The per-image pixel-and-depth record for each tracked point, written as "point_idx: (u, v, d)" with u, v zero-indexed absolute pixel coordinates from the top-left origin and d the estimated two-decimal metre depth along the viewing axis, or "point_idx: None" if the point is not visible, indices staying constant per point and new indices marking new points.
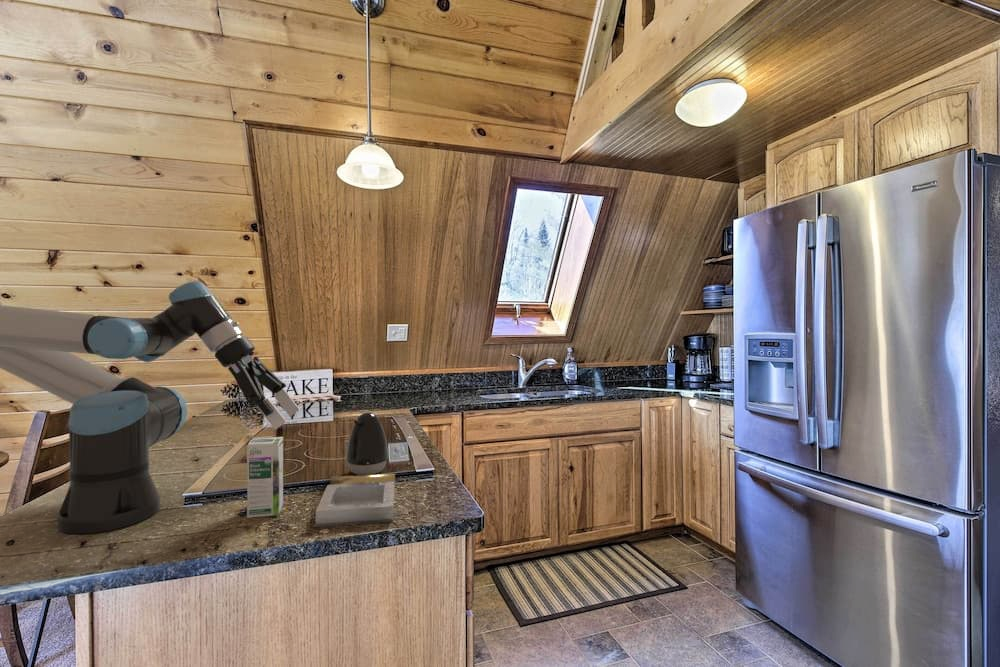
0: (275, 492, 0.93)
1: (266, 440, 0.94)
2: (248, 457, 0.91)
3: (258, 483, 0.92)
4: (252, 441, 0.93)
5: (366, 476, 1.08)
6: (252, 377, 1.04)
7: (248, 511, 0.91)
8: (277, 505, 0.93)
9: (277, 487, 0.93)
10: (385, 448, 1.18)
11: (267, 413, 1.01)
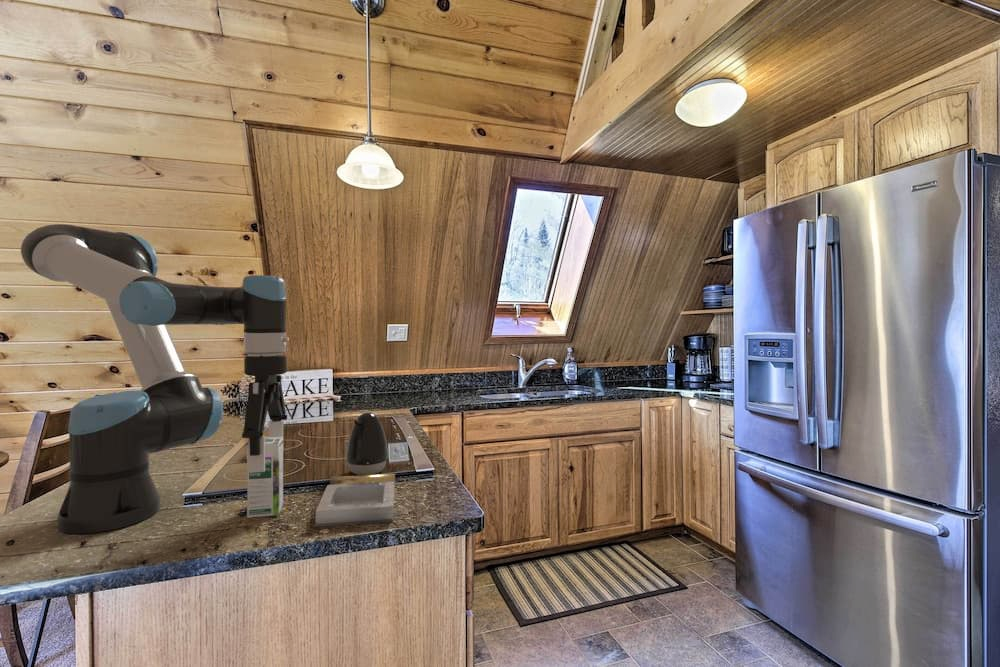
0: (275, 492, 0.93)
1: (266, 440, 0.94)
2: None
3: (258, 483, 0.92)
4: None
5: (366, 476, 1.08)
6: (264, 404, 0.90)
7: (248, 511, 0.91)
8: (277, 505, 0.93)
9: (277, 487, 0.93)
10: (385, 448, 1.18)
11: (253, 453, 0.86)
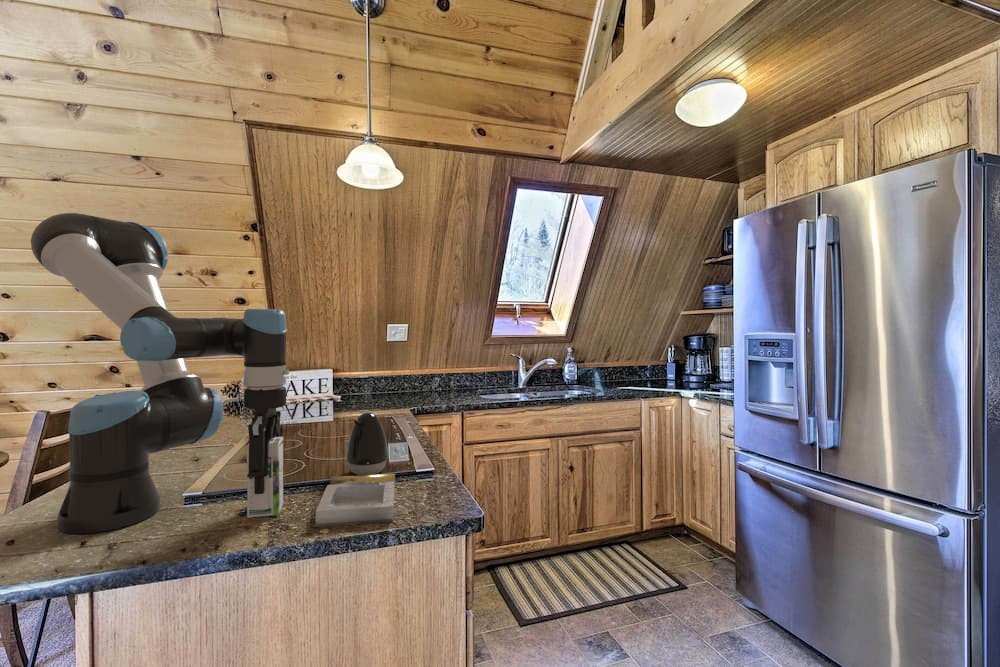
0: (275, 492, 0.93)
1: None
2: (248, 457, 0.91)
3: None
4: None
5: (366, 476, 1.08)
6: (265, 441, 0.91)
7: (248, 511, 0.91)
8: (277, 505, 0.93)
9: (277, 487, 0.93)
10: (385, 448, 1.18)
11: (257, 492, 0.90)
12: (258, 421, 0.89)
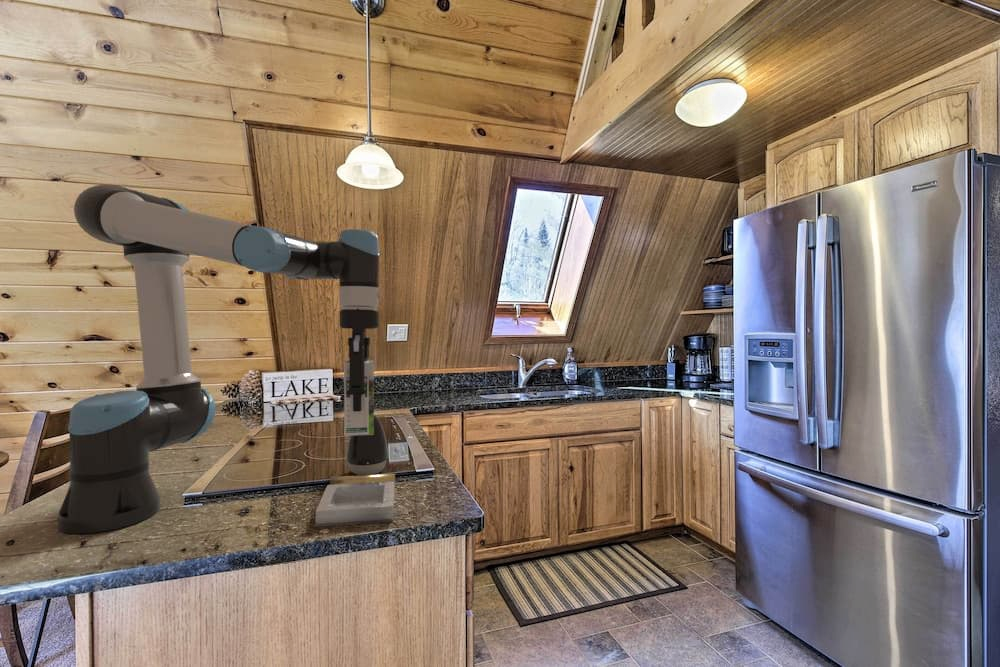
0: (370, 411, 0.94)
1: None
2: (345, 376, 0.92)
3: None
4: (347, 361, 0.94)
5: (366, 476, 1.08)
6: None
7: (345, 429, 0.93)
8: (372, 424, 0.94)
9: (372, 406, 0.94)
10: (385, 448, 1.18)
11: (356, 409, 0.91)
12: (357, 339, 0.91)
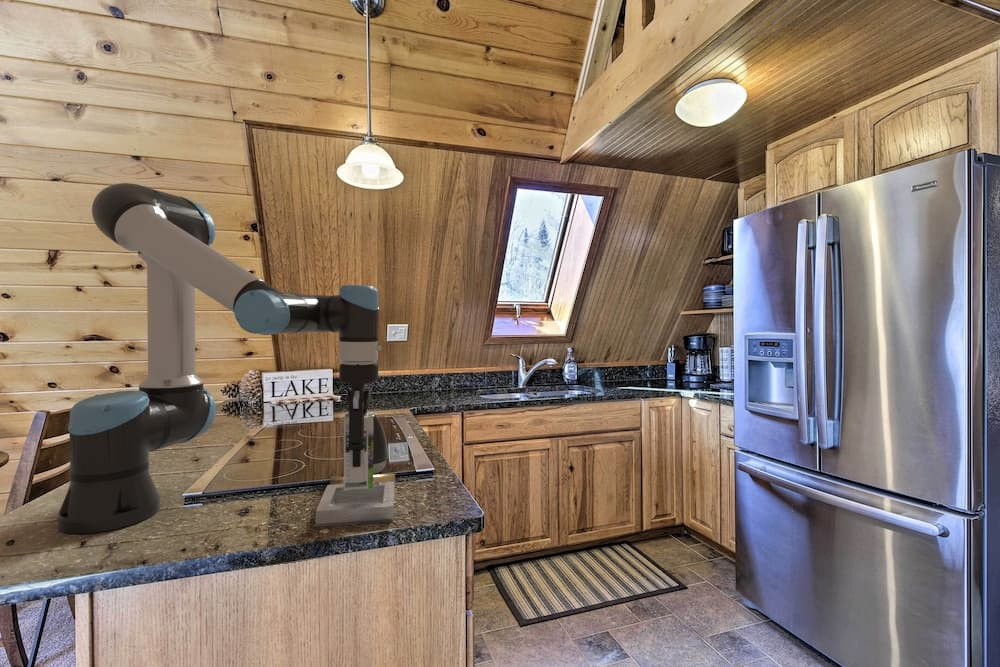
0: (369, 466, 0.94)
1: None
2: (345, 431, 0.93)
3: None
4: (347, 415, 0.94)
5: None
6: None
7: (344, 484, 0.93)
8: (372, 478, 0.94)
9: (372, 461, 0.94)
10: (385, 448, 1.18)
11: (355, 465, 0.91)
12: (356, 395, 0.91)
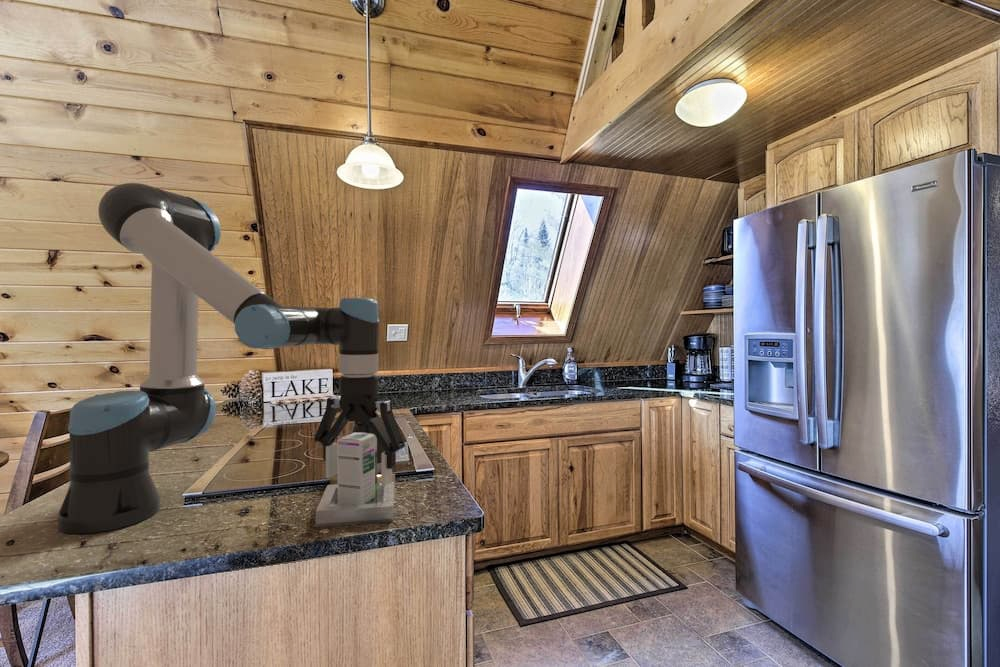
0: (375, 481, 0.98)
1: (361, 435, 0.96)
2: (362, 453, 0.93)
3: (367, 476, 0.95)
4: (355, 438, 0.94)
5: None
6: (379, 421, 0.95)
7: None
8: None
9: (376, 476, 0.98)
10: None
11: (393, 466, 0.93)
12: None
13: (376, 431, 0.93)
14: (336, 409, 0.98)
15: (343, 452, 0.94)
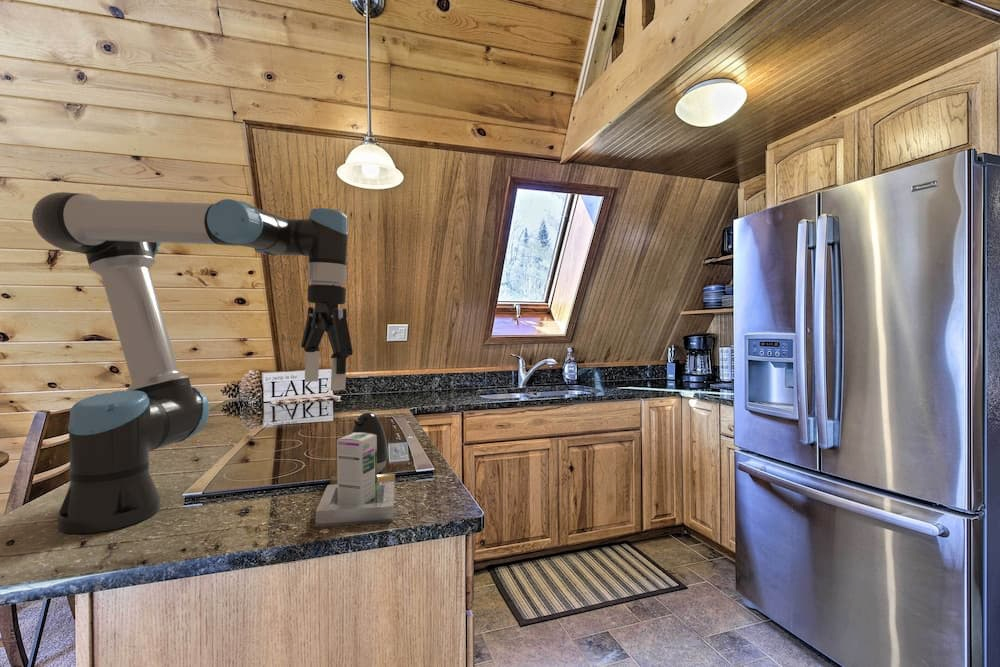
0: (375, 481, 0.98)
1: (361, 435, 0.96)
2: (362, 453, 0.93)
3: (367, 476, 0.95)
4: (355, 438, 0.94)
5: None
6: None
7: None
8: None
9: (376, 476, 0.98)
10: (385, 448, 1.18)
11: (341, 372, 0.94)
12: None
13: (330, 337, 0.96)
14: None
15: (343, 452, 0.94)
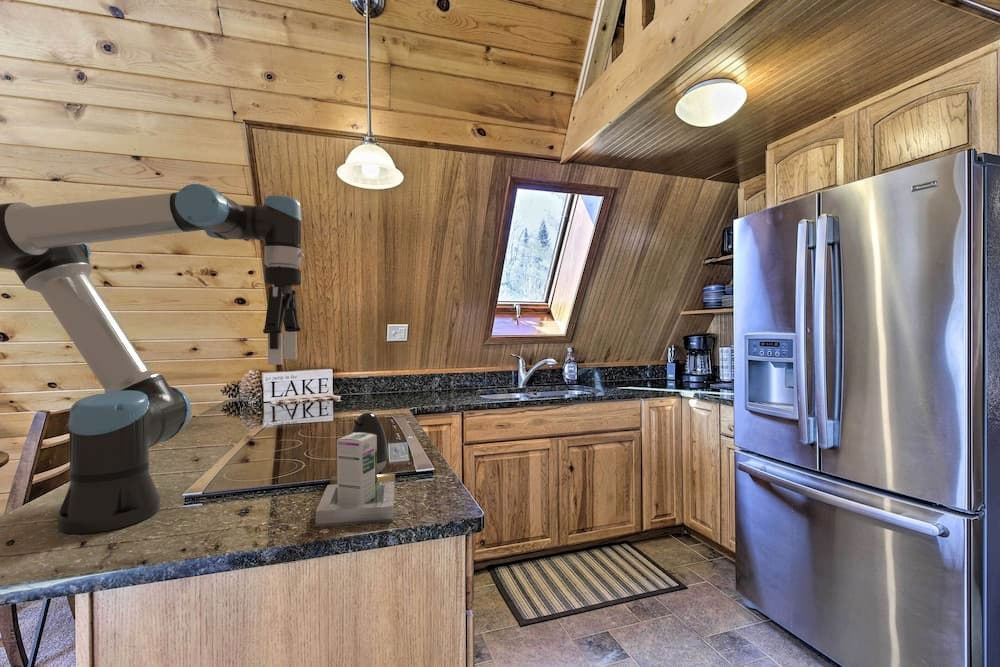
0: (375, 481, 0.98)
1: (361, 435, 0.96)
2: (362, 453, 0.93)
3: (367, 476, 0.95)
4: (355, 438, 0.94)
5: None
6: (282, 308, 1.03)
7: None
8: None
9: (376, 476, 0.98)
10: (385, 448, 1.18)
11: (272, 346, 0.99)
12: None
13: None
14: None
15: (343, 452, 0.94)
